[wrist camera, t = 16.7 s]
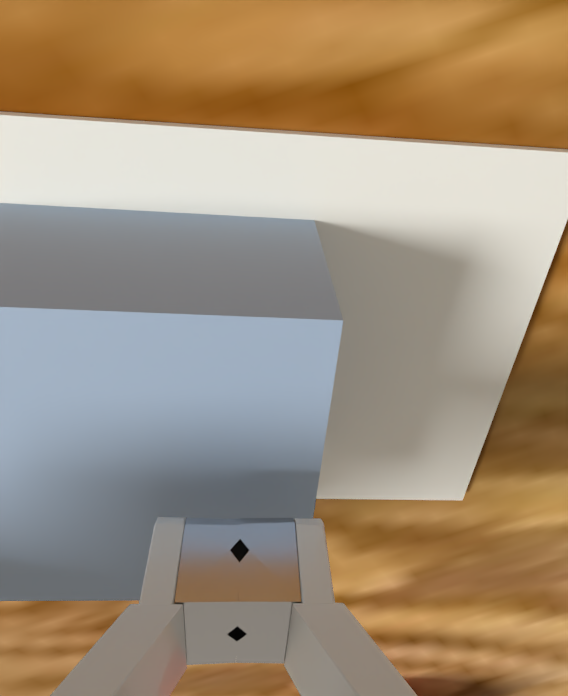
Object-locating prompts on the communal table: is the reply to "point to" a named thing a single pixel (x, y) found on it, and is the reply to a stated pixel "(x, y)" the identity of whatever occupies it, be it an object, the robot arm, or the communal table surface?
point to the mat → (351, 263)
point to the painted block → (153, 385)
